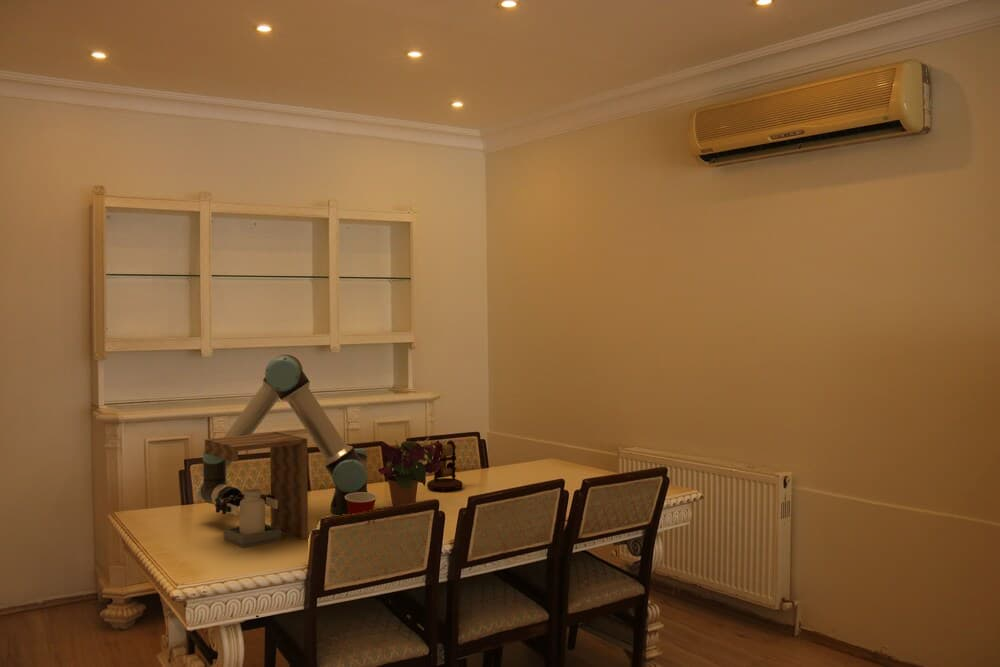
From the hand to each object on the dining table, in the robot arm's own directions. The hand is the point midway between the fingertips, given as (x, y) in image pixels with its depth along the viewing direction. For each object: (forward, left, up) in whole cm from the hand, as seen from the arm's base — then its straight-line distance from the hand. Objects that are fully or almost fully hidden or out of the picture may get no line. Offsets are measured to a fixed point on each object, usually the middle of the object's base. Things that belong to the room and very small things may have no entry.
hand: (257, 507), depth 272 cm
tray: (+3, -2, -11) cm, 11 cm away
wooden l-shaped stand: (+2, -3, -11) cm, 12 cm away
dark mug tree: (-44, -88, -11) cm, 99 cm away
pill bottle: (+3, -2, -10) cm, 11 cm away
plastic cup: (-29, -17, -11) cm, 36 cm away
